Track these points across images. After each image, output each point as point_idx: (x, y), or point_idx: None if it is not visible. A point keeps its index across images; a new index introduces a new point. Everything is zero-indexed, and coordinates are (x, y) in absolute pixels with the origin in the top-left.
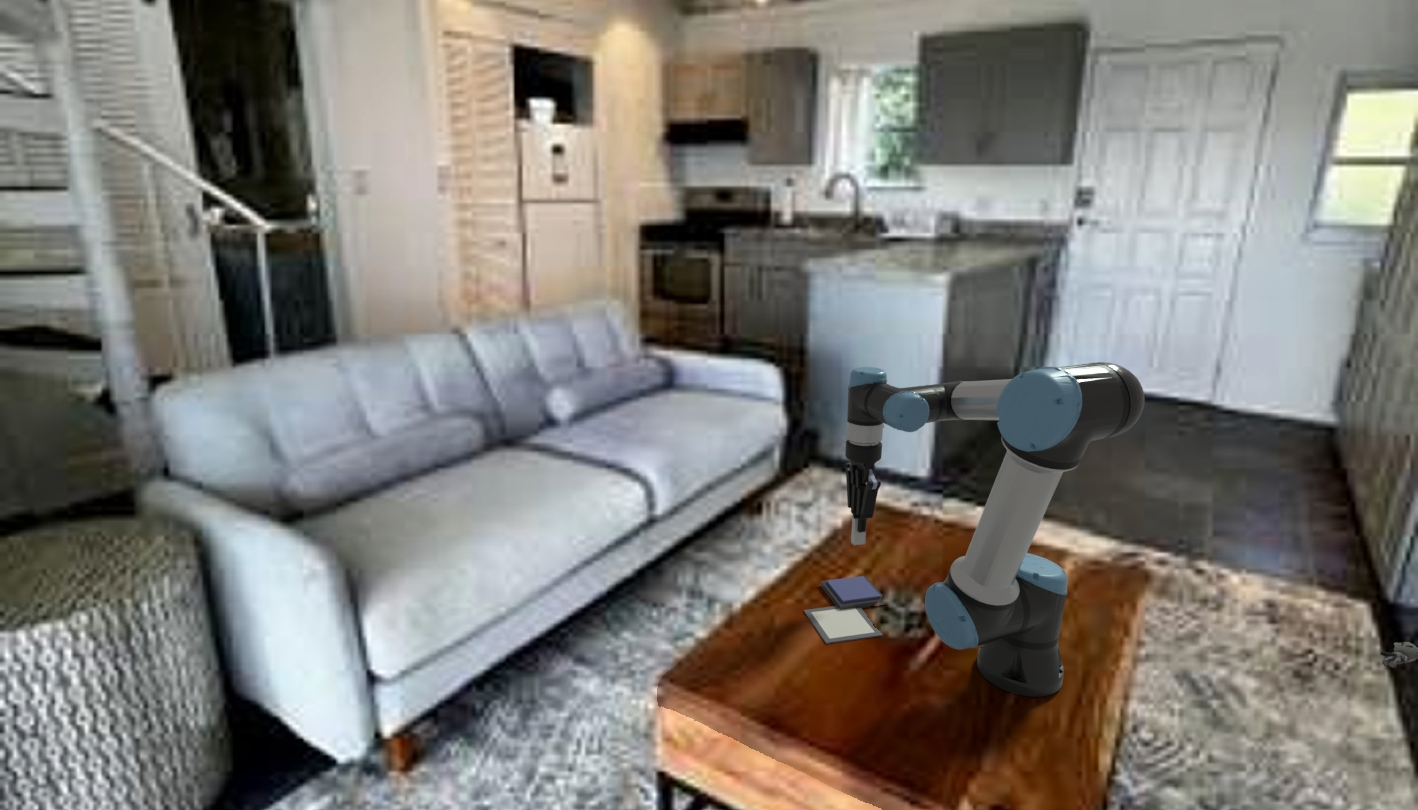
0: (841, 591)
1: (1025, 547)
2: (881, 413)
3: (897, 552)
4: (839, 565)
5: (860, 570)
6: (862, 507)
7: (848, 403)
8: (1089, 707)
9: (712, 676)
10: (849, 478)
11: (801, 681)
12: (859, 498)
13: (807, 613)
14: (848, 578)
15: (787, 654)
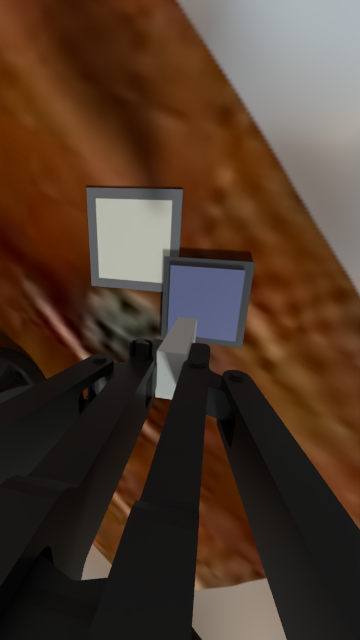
0: (199, 277)
1: None
2: None
3: (303, 442)
4: (308, 332)
5: (274, 356)
6: (61, 383)
7: None
8: None
9: None
10: (316, 576)
11: (9, 103)
12: (81, 416)
13: (170, 191)
14: (236, 313)
15: (72, 104)
